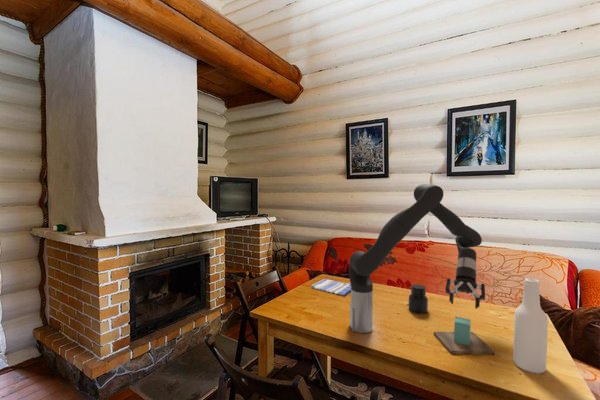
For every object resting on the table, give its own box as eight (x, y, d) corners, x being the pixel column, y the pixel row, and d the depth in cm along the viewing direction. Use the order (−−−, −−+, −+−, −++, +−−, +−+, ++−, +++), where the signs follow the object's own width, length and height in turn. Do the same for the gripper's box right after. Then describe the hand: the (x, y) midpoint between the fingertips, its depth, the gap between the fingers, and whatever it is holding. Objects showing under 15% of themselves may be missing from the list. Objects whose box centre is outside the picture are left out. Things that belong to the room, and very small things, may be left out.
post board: (450, 354, 105) (451, 334, 105) (433, 334, 119) (434, 317, 119) (494, 354, 105) (495, 335, 105) (472, 334, 119) (472, 317, 119)
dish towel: (325, 281, 189) (325, 277, 188) (358, 289, 174) (358, 284, 174) (310, 289, 175) (310, 284, 175) (344, 297, 160) (344, 293, 160)
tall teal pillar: (454, 341, 111) (454, 321, 111) (455, 335, 116) (455, 316, 115) (469, 345, 108) (470, 325, 108) (470, 339, 113) (470, 319, 113)
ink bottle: (425, 306, 147) (425, 283, 146) (431, 314, 138) (431, 289, 138) (405, 306, 148) (405, 283, 147) (410, 313, 139) (410, 289, 139)
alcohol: (550, 377, 92) (554, 285, 91) (517, 370, 95) (520, 282, 94) (539, 361, 100) (542, 277, 99) (509, 356, 104) (512, 274, 102)
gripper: (447, 263, 126) (443, 297, 117) (485, 268, 119) (485, 305, 109) (448, 272, 131) (444, 305, 122) (485, 277, 123) (484, 313, 114)
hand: (463, 305), depth 116 cm, fingers open, 8 cm apart
